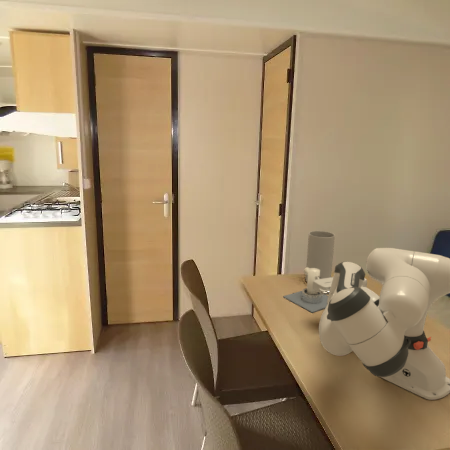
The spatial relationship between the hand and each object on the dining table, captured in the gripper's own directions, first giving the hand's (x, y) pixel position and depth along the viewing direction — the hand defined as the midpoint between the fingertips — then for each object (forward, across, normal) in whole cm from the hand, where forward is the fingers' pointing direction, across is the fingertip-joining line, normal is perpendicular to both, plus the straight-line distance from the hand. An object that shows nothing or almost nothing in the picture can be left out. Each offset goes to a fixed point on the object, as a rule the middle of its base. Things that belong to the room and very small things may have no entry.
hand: (326, 276), depth 151 cm
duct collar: (+11, +1, -16) cm, 20 cm away
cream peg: (+13, +1, -16) cm, 20 cm away
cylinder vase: (+29, +16, -17) cm, 37 cm away
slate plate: (+11, +1, -16) cm, 20 cm away
